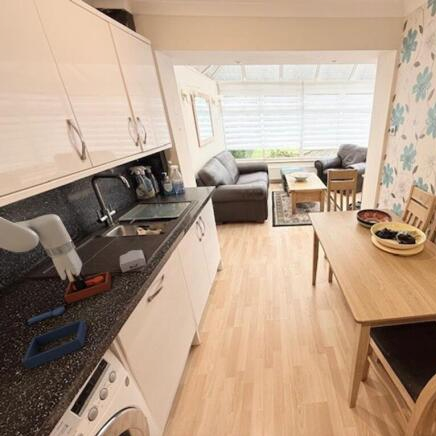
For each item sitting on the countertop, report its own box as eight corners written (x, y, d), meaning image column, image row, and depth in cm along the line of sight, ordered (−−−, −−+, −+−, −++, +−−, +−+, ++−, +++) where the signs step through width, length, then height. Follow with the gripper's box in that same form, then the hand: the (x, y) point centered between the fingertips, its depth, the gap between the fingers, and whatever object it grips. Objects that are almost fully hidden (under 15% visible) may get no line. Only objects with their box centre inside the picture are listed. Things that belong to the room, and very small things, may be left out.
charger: (143, 251, 121) (146, 265, 110) (122, 258, 117) (123, 273, 106) (140, 243, 119) (143, 257, 108) (118, 250, 115) (119, 265, 104)
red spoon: (74, 292, 92) (72, 288, 91) (75, 286, 95) (73, 283, 94) (103, 282, 96) (102, 279, 96) (104, 277, 99) (103, 274, 98)
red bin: (69, 304, 90) (64, 296, 88) (73, 290, 97) (68, 283, 95) (110, 290, 96) (106, 282, 94) (111, 278, 103) (108, 270, 101)
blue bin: (29, 371, 67) (22, 362, 65) (39, 346, 74) (32, 337, 72) (83, 348, 72) (78, 339, 71) (87, 327, 80) (82, 318, 78)
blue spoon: (29, 327, 81) (26, 323, 81) (32, 320, 84) (30, 316, 83) (65, 314, 86) (63, 310, 85) (67, 307, 89) (65, 304, 88)
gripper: (52, 242, 91) (74, 279, 99) (40, 261, 79) (66, 303, 87) (77, 235, 94) (96, 273, 102) (69, 253, 82) (92, 294, 90)
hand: (82, 286), depth 94 cm, fingers closed on red spoon, 1 cm apart
